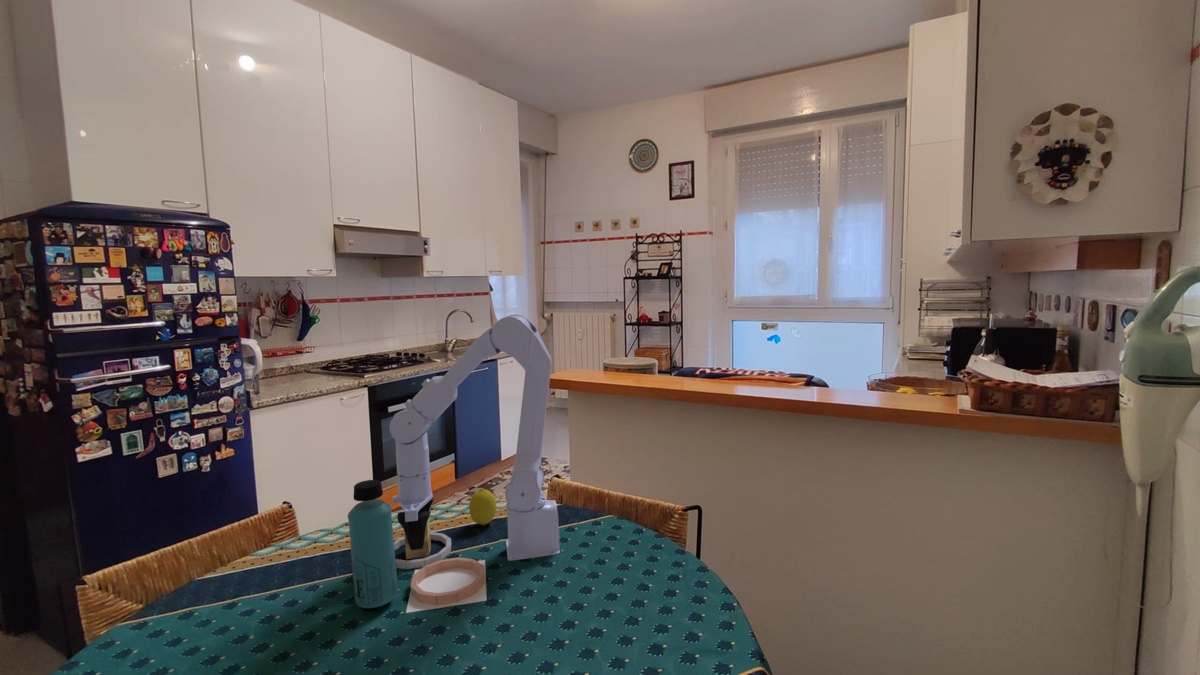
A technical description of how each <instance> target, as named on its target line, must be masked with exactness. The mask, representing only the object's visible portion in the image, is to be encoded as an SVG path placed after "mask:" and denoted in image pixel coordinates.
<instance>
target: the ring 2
mask: <svg viewBox="0 0 1200 675" xmlns="http://www.w3.org/2000/svg"><path fill="white" fill-rule="evenodd" d="M478 561H479V560H476V559H472V558H466V557H453V558H452V557H451V558H443V559H442V560H439V561H437V562H434V563H432V564H429V565H426V566H424V567H421V568H419V569H420V570H419V571H418V572H417V573H416V574H414V573H413V575H412V577H411V582H410V591H411V595H412V596H413V597H414V598H415V599H416V600H417V601H418V602H420V603H425V604H431V605H443V604H450V603H456V602H459V601H461V600H464V599H466V598H468V597H470V596H472V595H474V594H476V593H477V592H478V591H479V589H480V588H481V587H482V586H483V585H484V584H485V577H484V566H483V565H482V564H481V563H479V562H478ZM454 568H462V569H469V570H473V571H474V572H475V573H477V574H478V575H479V576H478V577H477V578H476V579H475V580H474V581H473V582H472V583H471V584H469V585H467V586H465V587H463V588H460V589H458V590H456V591H450V592H443V593H433V592H427V591H423V590H422V589H420V588H419V587H418V584H419V583H420V582H421V581H423V580H424V579H425V578H426V577H427V576H429V575H432V574H434V573H436V572H439V571H441V570H447V569H454Z"/></svg>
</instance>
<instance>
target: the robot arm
mask: <svg viewBox="0 0 1200 675" xmlns="http://www.w3.org/2000/svg"><path fill="white" fill-rule="evenodd" d="M500 353H504V354H506V355H508V356H510V357H512V358H514V360H515V361H516V362H517V363H518V365H520V367H522V368H523V370H524V372H525V373H524V382H523V390H522V399H521V407H520V416H519V417H520V419H519V425H518V433H517V434H518V435H517V444H516V450H515V451H516V453H515V459H514V465H513V469H512V473H511V477H510V480H509V481H508V484H507V486H506V487H505V491H504V496H505V497H504V498H505V500H506V513H507V514H506V517H507V519H506V520H507V537H508V539H506V540H505V546H506V547H505V548H506V554H507V555H506V557H507V561H508V562H511V561H512V562H513V561H519V560H526V559H531V558H539V557H540V558H541V557H548V556H554V555H560V554H561V551H560V529H559V513H558V507H557V506H558V505H557V502H556V500H554V499H546V496H544V494H543V492H542V486H543V483H544V482H545V474H544V470H543V469H542V449H543V444H544V443H543V441H544V434H545V433H544V431H545V426H546V425H545V424H546V415H547V406H548V400H549V399H548V398H549V390H550V381H551V373H552V364H553V362H552V361H553V360H552V356H551V354H550V352H549V351H548V348H547V347H546V345H545V343H544V341H543V339H542V337H541V335H540V333H539V330H538V328H537V327H536V326H535V324H533V323H532V322H531V321H530V320H529V319H528V318H527V317H525V316H524V315H522V314H518V313H514V314H510V315H507V316H505V317H502V318H500V319H498V320H497V321H496V322H495V323H494V325H492V327H489V328H488V329H487V330H485V331H484V332H483V333H482V334H481V335H480V336H478V337H477V338H476V339H475V340H474V341H473V342H472V344H471V345H470V346H469V347H468V348H467V349H466V350H465V351H464V352H463V353H462V355H461V356H460V357H459V358H458V359H457V361H455V363H454V364H453V365H452V366H451V367H450V369H448V371H447V372H446V373H445V374H444V375H438V376H436V375H435V376H433V377H431V378H430V379H429V378H427V379H425V380H424V381H423V382H422V383H421V387H422V388H421V389H420V390H419V391H418V393H416V394H415V395H414V397H413V398H412V399H407V400H406V401H405V402H404V406H405V408H404V409H403V410H400V411H398V412H396V413H394V415H393V417H392V419H391V420H390V423H389V433H390V435H391V437H392V438H393V439H394V440H395V458H396V459H395V461H396V475H397V488H398V491H397V492H398V494H396V495H393V496H392V499H391V503H392V504H399V506H400V507H401V509H402V510H403V511H402V512H398V513H397V518H396V519H397V522H398V523H399V524H400V526H401V527H402V529H403V530H404V531H405V532H404V534H405V533H406V536H407V540H408V543H409V546H410V549H411V550H417V549H423V545H424V538H425V528H426V524H427V521H428V519H429V520H430V516H431V513H432V511H431V507H432V504H433V502H434V496H433V491H432V481H431V480H432V478H431V468H430V466H431V464H430V449H429V442H428V431H429V430H430V428H431V426H432V423H435V422H436V421H437V419H439V418H440V416H441V415H442V414H443V413H445V411H446V410H447V409H448V408H449V407H450V405H452V404H453V402H455V401H456V399H457V398H458V386H459V385H461V384H462V382H464V380H465V379H466V378H467V377H469V376H470V375H471V374H472V372H474V370H475V369H476V368H477V367H479V366H480V364H482V363H483V361H484V360H486V359H487V358H489V357H493V356H497V355H499V354H500Z"/></svg>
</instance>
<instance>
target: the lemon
mask: <svg viewBox="0 0 1200 675" xmlns="http://www.w3.org/2000/svg"><path fill="white" fill-rule="evenodd" d="M468 511H469V515H470V518H471V520H472V521H474V523H476V524H478V525H481V526H486V525H487V524H488V523H490V522H491V521H492V520H494V518H495V516H496V512H497V501H496V498H495V495H494V494H493V493H492V492H491V491H490V490H488V489H485V488H479V490H477V491H475V492H474V493H473V494H472V495H471V497H470V500H469V505H468Z"/></svg>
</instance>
